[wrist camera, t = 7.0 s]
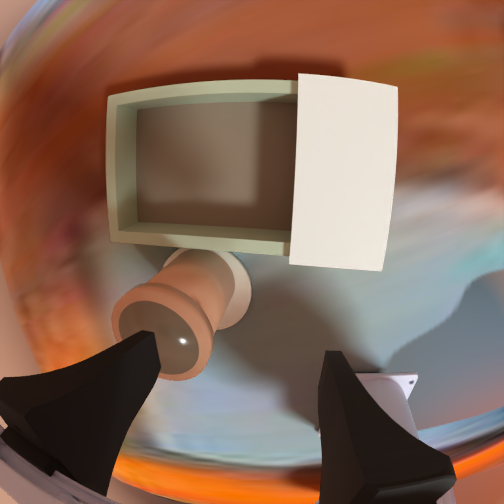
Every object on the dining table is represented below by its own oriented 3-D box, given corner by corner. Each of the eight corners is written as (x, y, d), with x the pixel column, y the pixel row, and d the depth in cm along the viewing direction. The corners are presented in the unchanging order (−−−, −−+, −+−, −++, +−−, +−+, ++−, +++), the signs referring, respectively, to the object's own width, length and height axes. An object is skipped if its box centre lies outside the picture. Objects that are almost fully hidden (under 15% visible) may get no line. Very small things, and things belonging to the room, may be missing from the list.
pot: (238, 318, 21) (211, 389, 14) (169, 309, 22) (122, 368, 15) (239, 247, 19) (205, 300, 12) (163, 241, 20) (102, 284, 13)
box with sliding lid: (368, 252, 19) (381, 271, 16) (132, 234, 21) (106, 248, 18) (380, 98, 15) (397, 87, 12) (131, 98, 18) (103, 90, 14)
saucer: (250, 331, 22) (249, 335, 22) (167, 319, 23) (164, 323, 22) (253, 245, 20) (252, 248, 19) (160, 239, 21) (156, 241, 20)
